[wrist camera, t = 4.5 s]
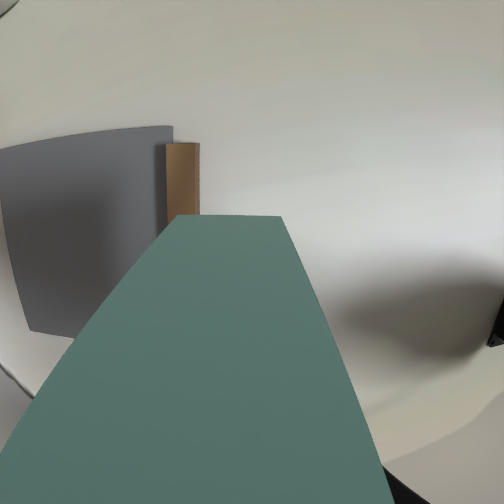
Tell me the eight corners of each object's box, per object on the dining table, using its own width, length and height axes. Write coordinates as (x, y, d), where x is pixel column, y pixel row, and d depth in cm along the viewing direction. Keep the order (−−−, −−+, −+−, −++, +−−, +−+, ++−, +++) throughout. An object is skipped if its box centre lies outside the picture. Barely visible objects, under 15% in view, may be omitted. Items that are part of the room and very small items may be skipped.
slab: (280, 216, 9) (423, 599, 1) (267, 410, 12) (281, 619, 3) (177, 214, 9) (-40, 534, 1) (194, 408, 12) (166, 613, 3)
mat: (173, 126, 16) (170, 125, 15) (183, 343, 21) (182, 349, 20) (2, 149, 16) (-3, 150, 15) (33, 326, 20) (30, 330, 20)
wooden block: (199, 142, 16) (195, 143, 15) (204, 333, 20) (201, 346, 19) (172, 143, 16) (166, 143, 15) (182, 331, 20) (178, 345, 19)
